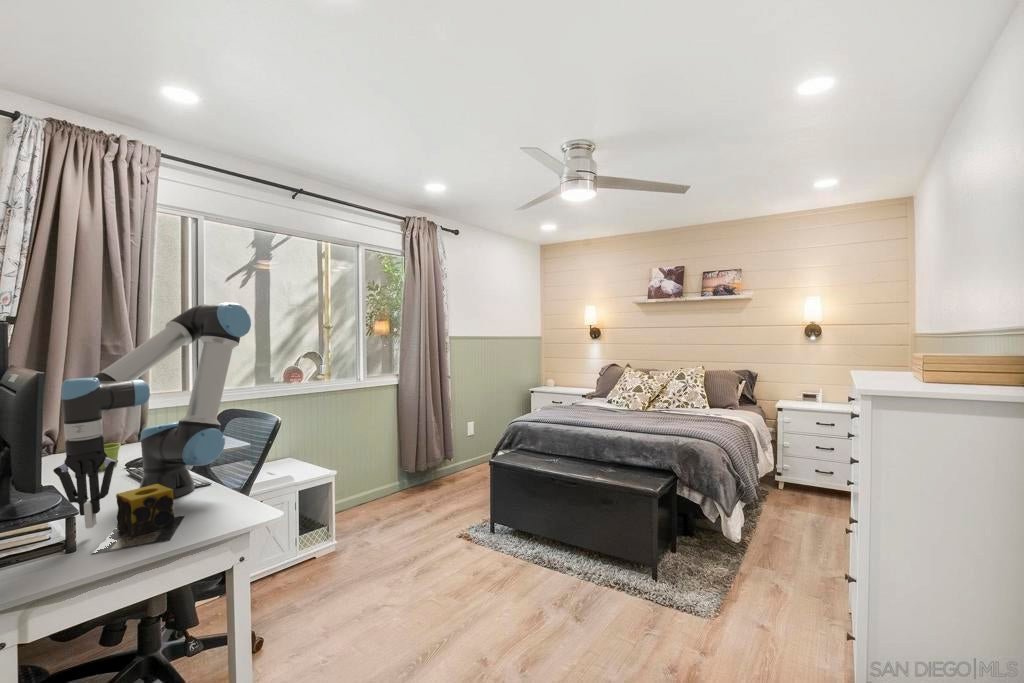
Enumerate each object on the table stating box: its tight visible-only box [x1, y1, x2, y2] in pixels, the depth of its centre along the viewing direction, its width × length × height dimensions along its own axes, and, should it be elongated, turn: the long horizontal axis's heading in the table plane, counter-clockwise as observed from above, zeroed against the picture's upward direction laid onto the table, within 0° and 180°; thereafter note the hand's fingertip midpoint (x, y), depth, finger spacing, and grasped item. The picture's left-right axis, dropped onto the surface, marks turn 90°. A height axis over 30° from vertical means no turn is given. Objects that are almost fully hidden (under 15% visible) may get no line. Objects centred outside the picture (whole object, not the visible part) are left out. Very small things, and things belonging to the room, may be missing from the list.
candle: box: [115, 484, 175, 537], centre depth 132 cm, size 10×10×10 cm
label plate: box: [96, 515, 186, 554], centre depth 129 cm, size 18×16×1 cm
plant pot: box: [99, 442, 121, 471], centre depth 195 cm, size 9×9×9 cm
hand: (91, 526), depth 128 cm, fingers closed
